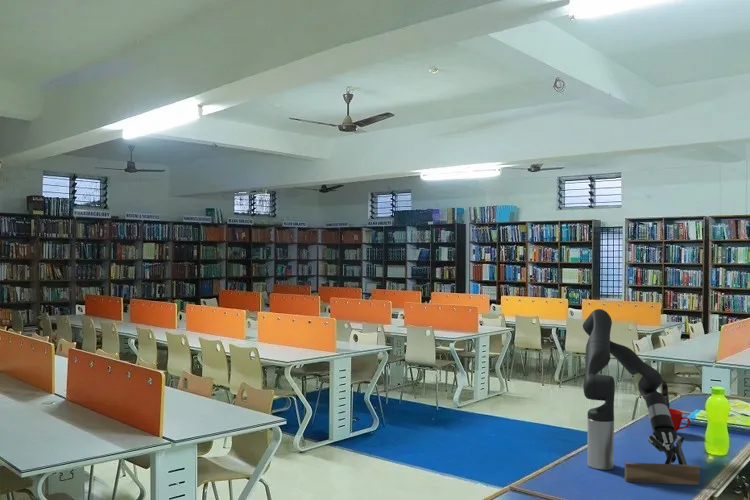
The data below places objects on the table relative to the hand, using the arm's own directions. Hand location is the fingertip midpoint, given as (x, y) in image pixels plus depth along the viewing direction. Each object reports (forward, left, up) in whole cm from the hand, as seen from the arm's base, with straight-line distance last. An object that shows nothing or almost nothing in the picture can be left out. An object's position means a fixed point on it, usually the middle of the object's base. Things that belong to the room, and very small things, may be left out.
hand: (672, 461), depth 231 cm
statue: (-79, +26, -4) cm, 83 cm away
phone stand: (+3, 0, -4) cm, 5 cm away
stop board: (+12, -8, -4) cm, 14 cm away
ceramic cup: (-54, +18, -4) cm, 57 cm away
